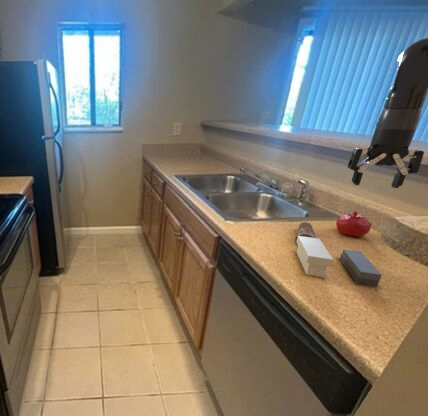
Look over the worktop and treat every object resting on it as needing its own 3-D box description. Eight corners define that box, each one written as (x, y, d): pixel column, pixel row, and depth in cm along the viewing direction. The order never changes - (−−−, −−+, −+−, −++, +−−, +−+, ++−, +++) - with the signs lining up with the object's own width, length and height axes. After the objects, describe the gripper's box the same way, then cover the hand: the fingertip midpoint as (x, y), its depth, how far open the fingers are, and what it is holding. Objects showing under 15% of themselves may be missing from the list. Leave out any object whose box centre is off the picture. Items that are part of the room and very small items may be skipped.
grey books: (356, 261, 88) (360, 250, 87) (377, 287, 77) (382, 275, 75) (339, 259, 90) (342, 248, 89) (356, 283, 78) (361, 271, 77)
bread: (293, 246, 98) (296, 232, 96) (296, 228, 113) (299, 215, 111) (315, 251, 95) (319, 237, 93) (315, 231, 109) (319, 219, 107)
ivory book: (317, 244, 91) (319, 238, 90) (331, 266, 79) (333, 259, 78) (296, 242, 93) (297, 235, 93) (306, 262, 81) (308, 255, 81)
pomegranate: (364, 242, 100) (372, 218, 97) (330, 233, 108) (337, 211, 104) (369, 234, 106) (377, 211, 103) (337, 226, 113) (344, 205, 110)
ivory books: (311, 254, 93) (314, 244, 92) (324, 277, 81) (328, 266, 80) (296, 252, 95) (299, 242, 93) (306, 274, 83) (309, 263, 81)
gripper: (367, 127, 71) (348, 187, 77) (442, 128, 66) (416, 192, 72) (355, 125, 78) (339, 180, 84) (423, 125, 73) (400, 184, 78)
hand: (375, 185), depth 78 cm, fingers open, 8 cm apart
